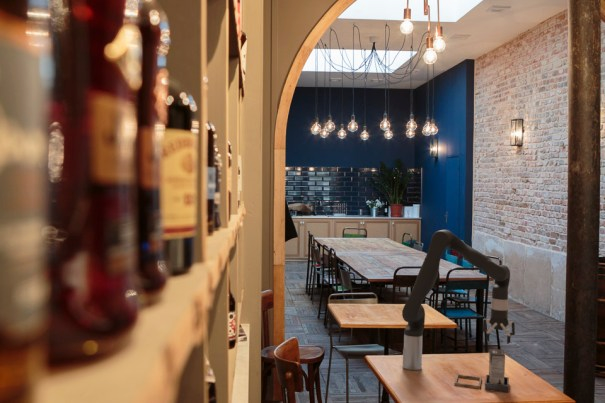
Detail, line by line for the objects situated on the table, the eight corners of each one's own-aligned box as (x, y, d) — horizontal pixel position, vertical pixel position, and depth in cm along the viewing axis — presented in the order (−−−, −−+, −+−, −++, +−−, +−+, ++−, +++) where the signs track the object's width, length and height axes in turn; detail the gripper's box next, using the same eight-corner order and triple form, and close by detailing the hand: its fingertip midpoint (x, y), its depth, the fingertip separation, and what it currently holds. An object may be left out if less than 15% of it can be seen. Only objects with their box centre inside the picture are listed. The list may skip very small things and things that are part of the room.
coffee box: (488, 381, 267) (489, 348, 267) (502, 383, 266) (503, 349, 265) (490, 388, 258) (491, 354, 258) (504, 389, 257) (505, 355, 256)
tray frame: (454, 385, 262) (454, 382, 262) (457, 376, 275) (457, 374, 275) (480, 388, 258) (480, 386, 258) (481, 379, 271) (481, 377, 271)
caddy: (484, 389, 257) (485, 383, 257) (486, 380, 270) (486, 374, 270) (508, 393, 254) (508, 386, 254) (508, 383, 266) (508, 377, 266)
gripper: (483, 308, 260) (481, 342, 260) (515, 311, 255) (514, 346, 255) (483, 304, 267) (482, 338, 267) (515, 308, 262) (514, 342, 262)
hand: (498, 342), depth 261 cm, fingers open, 8 cm apart
